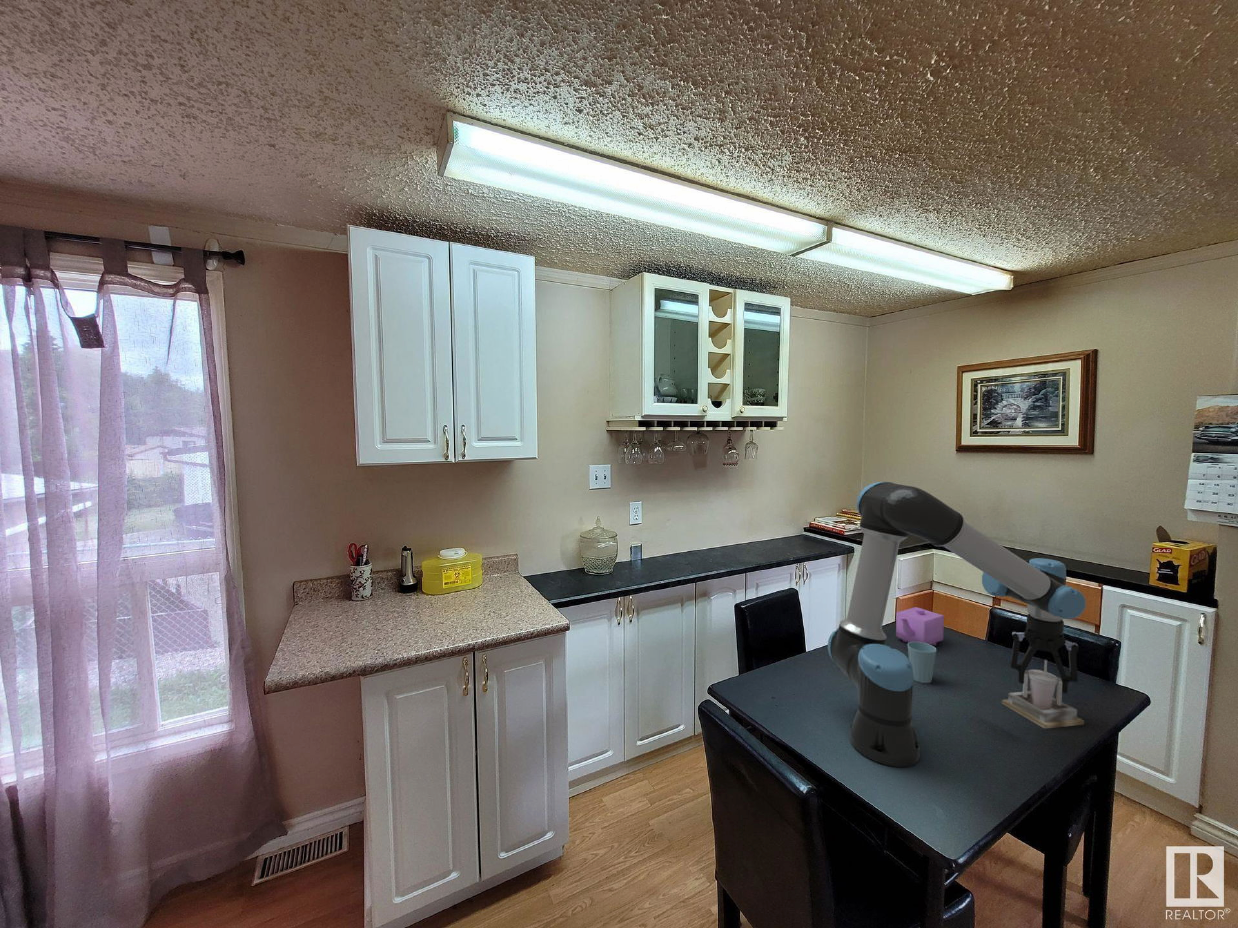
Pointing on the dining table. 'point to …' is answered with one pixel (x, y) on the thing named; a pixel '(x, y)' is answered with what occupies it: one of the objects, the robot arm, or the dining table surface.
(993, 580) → the robot arm
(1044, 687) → the smoothie
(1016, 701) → the tray
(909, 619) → the purple box
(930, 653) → the cup
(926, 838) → the dining table surface
